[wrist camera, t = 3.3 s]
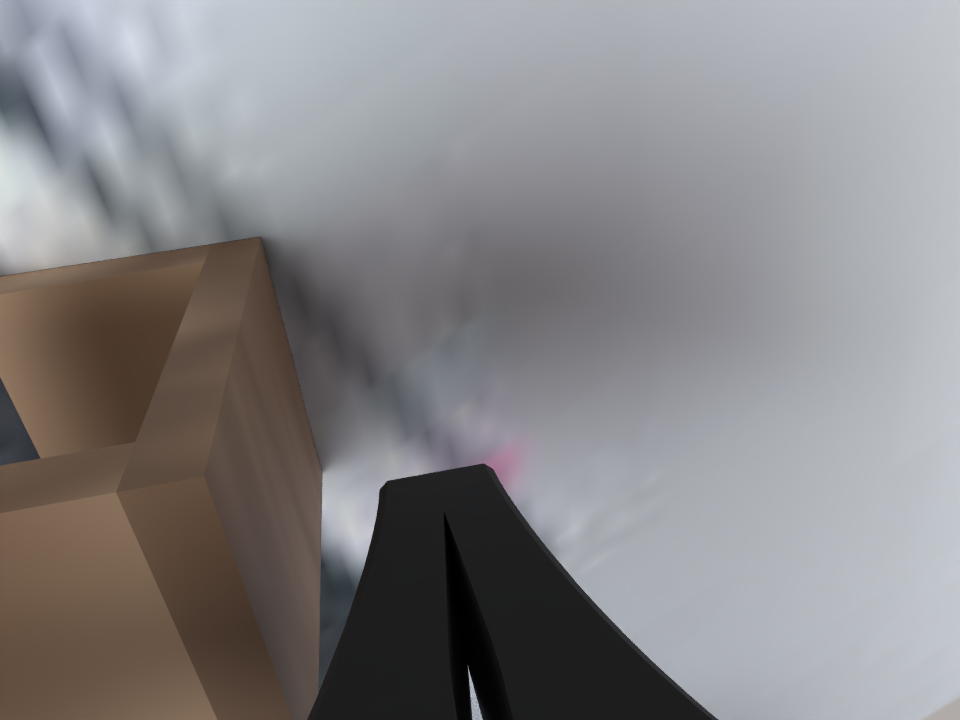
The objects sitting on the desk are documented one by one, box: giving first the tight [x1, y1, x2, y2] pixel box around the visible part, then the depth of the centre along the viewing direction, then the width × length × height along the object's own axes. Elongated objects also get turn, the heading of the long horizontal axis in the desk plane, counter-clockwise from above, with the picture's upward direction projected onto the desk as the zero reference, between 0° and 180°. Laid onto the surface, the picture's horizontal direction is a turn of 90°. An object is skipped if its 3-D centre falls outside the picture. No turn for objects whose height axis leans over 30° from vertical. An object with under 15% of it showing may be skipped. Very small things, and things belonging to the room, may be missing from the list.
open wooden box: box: [0, 237, 322, 720], centre depth 11 cm, size 4×5×6 cm
